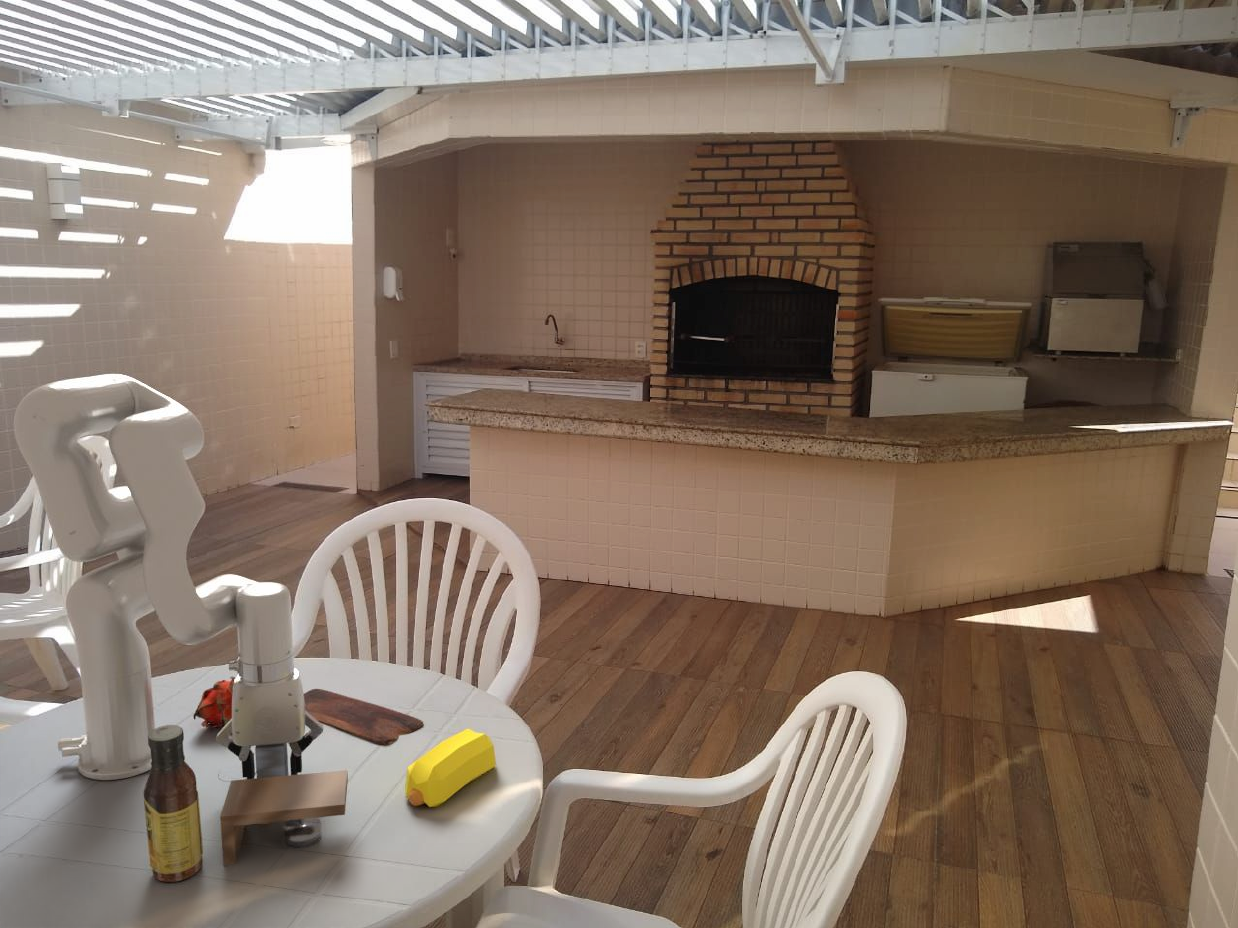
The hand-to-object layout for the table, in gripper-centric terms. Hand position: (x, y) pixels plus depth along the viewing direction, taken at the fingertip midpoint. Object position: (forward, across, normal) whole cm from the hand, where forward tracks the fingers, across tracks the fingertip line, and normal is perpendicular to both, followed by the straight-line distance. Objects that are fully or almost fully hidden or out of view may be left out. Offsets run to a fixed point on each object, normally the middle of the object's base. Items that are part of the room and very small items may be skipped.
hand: (273, 777), depth 146 cm
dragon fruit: (+1, -10, +21) cm, 23 cm away
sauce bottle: (+1, -10, -20) cm, 22 cm away
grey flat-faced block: (+1, 0, -5) cm, 5 cm away
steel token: (+1, +6, -15) cm, 16 cm away
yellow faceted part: (+1, +26, -5) cm, 27 cm away
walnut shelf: (+1, +4, -15) cm, 16 cm away
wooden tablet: (+2, +11, +21) cm, 24 cm away
